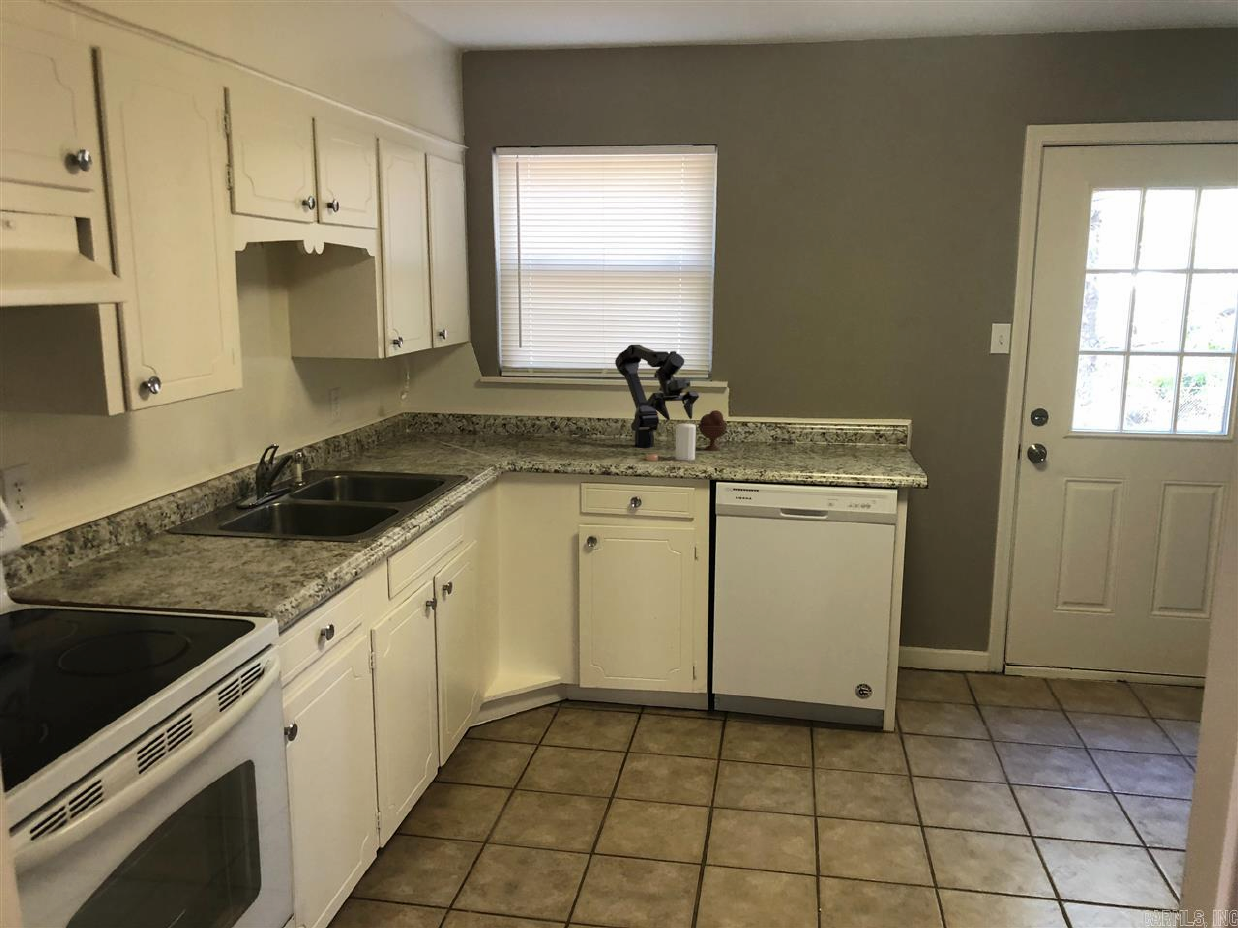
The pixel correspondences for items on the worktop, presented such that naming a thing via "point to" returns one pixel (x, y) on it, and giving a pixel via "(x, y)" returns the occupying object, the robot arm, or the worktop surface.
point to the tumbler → (685, 441)
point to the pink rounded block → (652, 457)
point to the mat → (680, 460)
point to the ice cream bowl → (712, 428)
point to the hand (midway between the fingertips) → (680, 419)
